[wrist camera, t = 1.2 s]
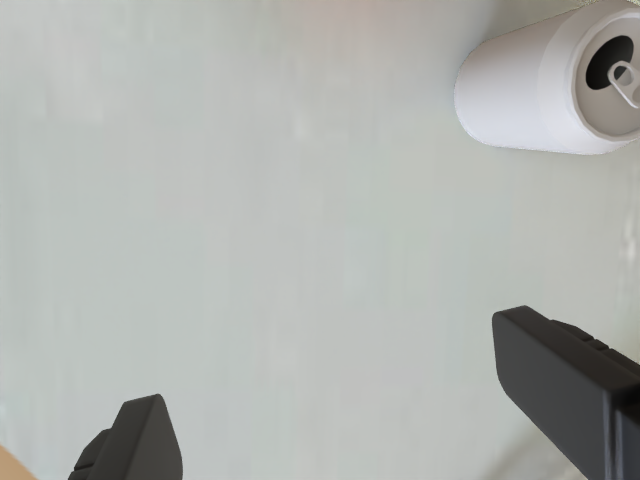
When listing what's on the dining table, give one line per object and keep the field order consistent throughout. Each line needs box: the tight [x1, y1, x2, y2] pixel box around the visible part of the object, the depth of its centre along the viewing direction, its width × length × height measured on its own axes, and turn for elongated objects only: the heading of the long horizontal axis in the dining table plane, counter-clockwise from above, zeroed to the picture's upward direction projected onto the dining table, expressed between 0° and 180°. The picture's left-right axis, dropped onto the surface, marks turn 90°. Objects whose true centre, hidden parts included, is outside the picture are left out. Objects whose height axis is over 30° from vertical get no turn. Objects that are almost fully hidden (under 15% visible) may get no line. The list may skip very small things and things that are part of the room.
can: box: [454, 0, 640, 155], centre depth 27 cm, size 8×8×12 cm
